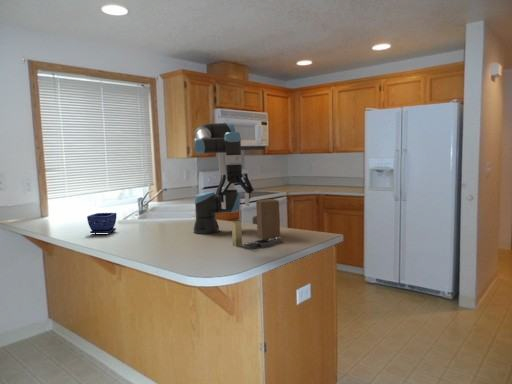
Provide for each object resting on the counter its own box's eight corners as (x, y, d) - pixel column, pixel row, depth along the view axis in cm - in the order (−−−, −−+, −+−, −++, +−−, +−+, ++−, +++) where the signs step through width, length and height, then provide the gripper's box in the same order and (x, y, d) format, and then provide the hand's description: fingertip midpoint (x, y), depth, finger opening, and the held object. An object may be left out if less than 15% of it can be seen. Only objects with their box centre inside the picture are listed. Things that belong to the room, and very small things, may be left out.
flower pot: (118, 231, 243) (117, 212, 242) (108, 235, 230) (107, 215, 229) (98, 231, 244) (97, 212, 243) (87, 235, 231) (85, 216, 230)
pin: (232, 245, 192) (231, 221, 191) (238, 244, 194) (237, 220, 193) (236, 246, 190) (235, 222, 188) (242, 245, 192) (241, 221, 190)
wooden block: (262, 239, 203) (261, 201, 201) (257, 235, 213) (255, 199, 211) (280, 237, 206) (279, 200, 204) (274, 234, 215) (273, 198, 213)
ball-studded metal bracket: (242, 247, 187) (241, 242, 187) (276, 240, 199) (275, 235, 199) (250, 250, 181) (250, 244, 181) (285, 243, 193) (285, 237, 193)
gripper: (215, 165, 178) (217, 210, 180) (259, 163, 192) (260, 205, 194) (207, 165, 184) (209, 209, 186) (250, 163, 198) (252, 204, 200)
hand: (235, 207), depth 190 cm, fingers open, 13 cm apart
